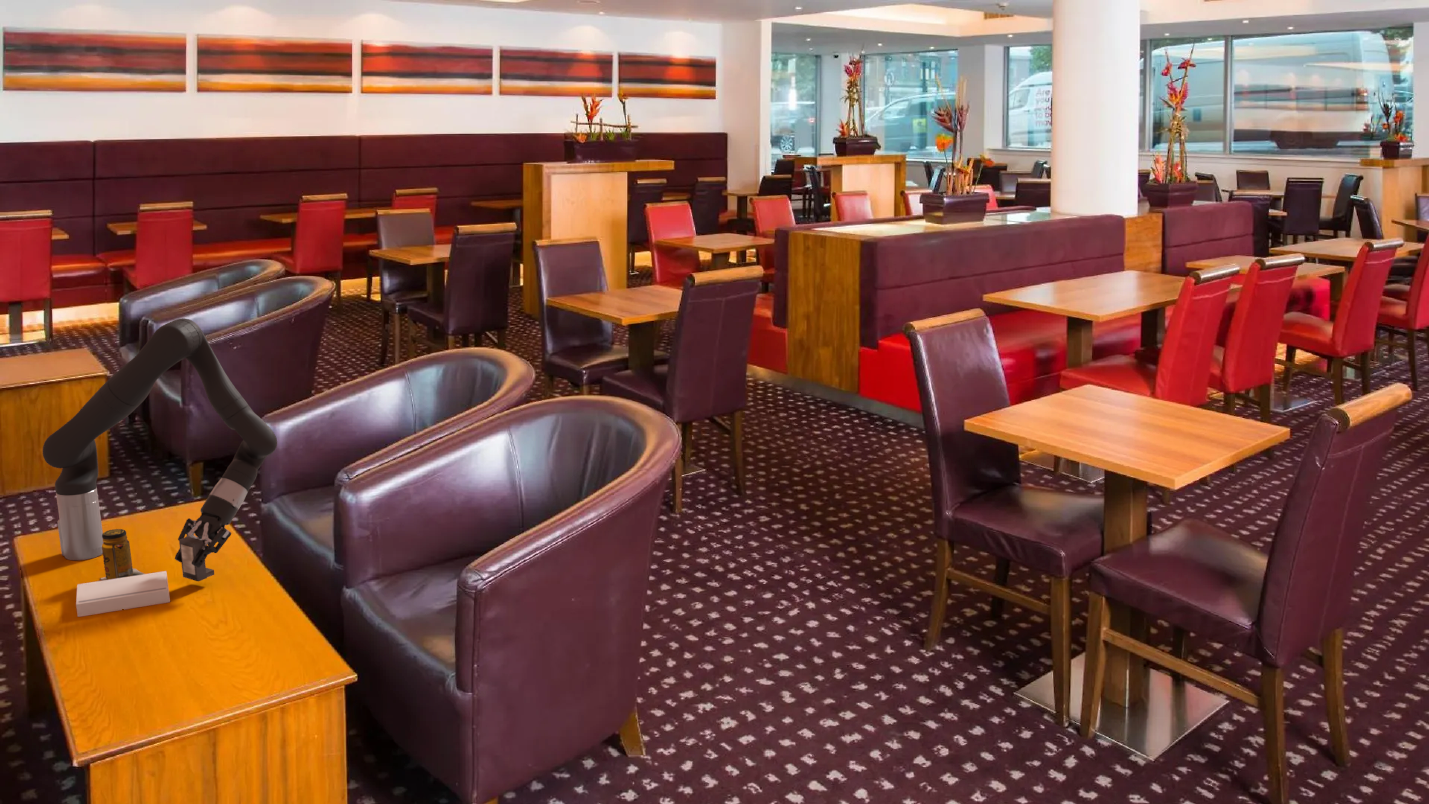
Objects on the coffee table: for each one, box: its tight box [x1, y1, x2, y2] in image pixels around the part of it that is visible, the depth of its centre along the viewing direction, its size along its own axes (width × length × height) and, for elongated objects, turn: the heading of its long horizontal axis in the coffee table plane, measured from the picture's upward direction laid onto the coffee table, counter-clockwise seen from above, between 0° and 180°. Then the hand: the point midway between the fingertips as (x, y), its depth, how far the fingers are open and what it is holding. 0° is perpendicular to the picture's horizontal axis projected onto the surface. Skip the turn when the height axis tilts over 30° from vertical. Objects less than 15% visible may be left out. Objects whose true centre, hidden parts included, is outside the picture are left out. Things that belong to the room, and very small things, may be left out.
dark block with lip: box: [178, 536, 215, 582], centre depth 288 cm, size 6×5×10 cm
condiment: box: [99, 528, 145, 581], centre depth 293 cm, size 7×8×12 cm
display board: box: [75, 570, 171, 618], centre depth 281 cm, size 19×13×3 cm
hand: (186, 563), depth 285 cm, fingers closed on dark block with lip, 5 cm apart
